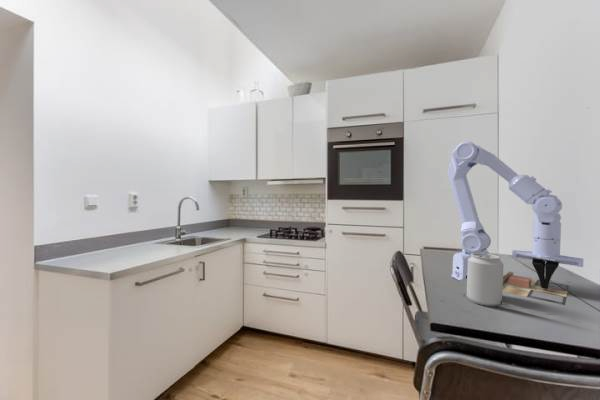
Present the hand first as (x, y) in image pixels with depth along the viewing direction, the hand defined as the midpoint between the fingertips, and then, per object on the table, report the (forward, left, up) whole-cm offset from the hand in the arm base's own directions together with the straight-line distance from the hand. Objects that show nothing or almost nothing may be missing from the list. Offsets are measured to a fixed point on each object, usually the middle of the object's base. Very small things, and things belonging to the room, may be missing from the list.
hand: (544, 287), depth 76 cm
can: (-21, -6, -2) cm, 22 cm away
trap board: (-2, +2, -2) cm, 3 cm away
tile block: (-4, +4, -1) cm, 5 cm away
